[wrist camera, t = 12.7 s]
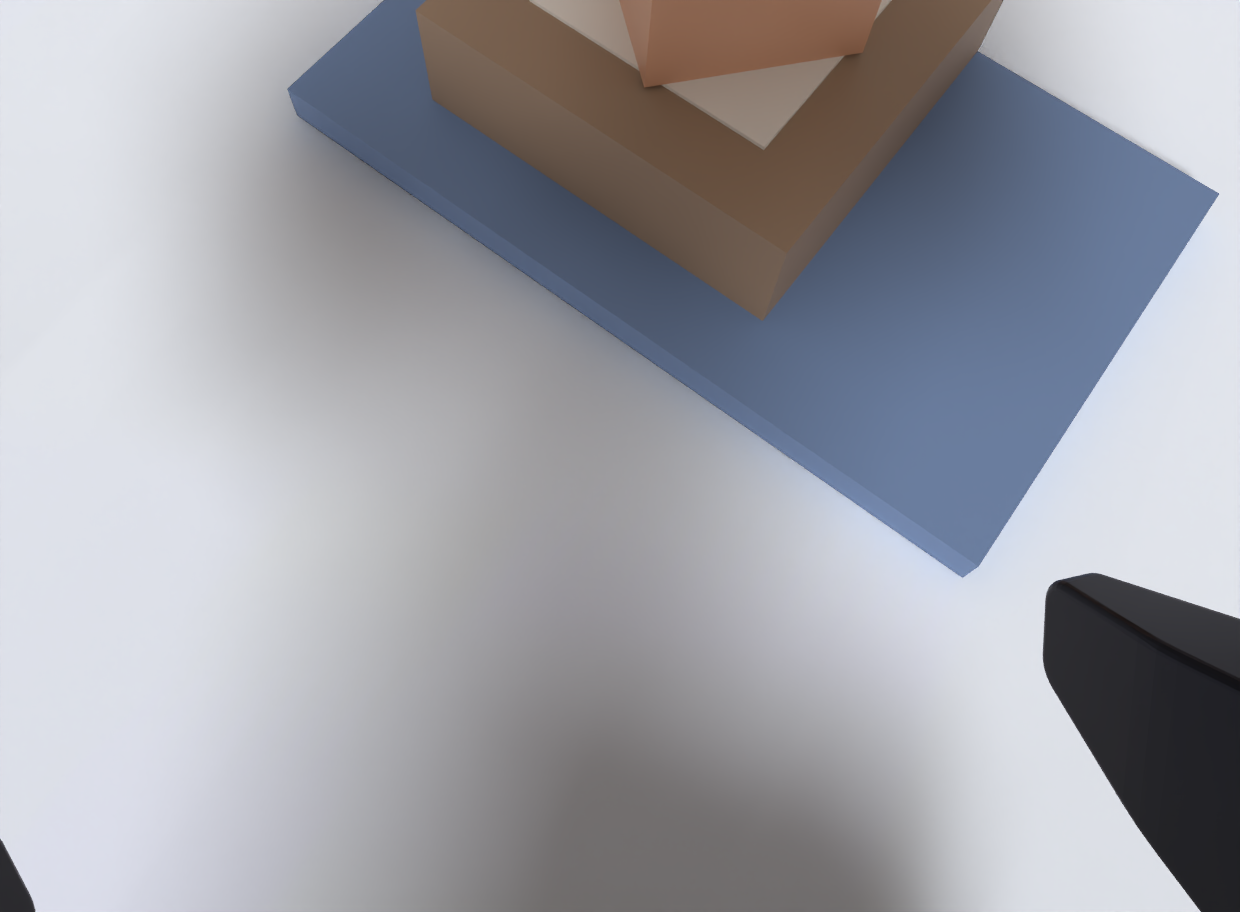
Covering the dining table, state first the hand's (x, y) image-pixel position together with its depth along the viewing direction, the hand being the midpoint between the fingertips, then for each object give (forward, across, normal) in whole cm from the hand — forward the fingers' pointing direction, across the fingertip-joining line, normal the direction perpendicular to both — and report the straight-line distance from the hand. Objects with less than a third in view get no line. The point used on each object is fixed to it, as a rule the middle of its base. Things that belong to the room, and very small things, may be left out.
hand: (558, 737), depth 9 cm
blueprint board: (+20, -8, 0) cm, 21 cm away
